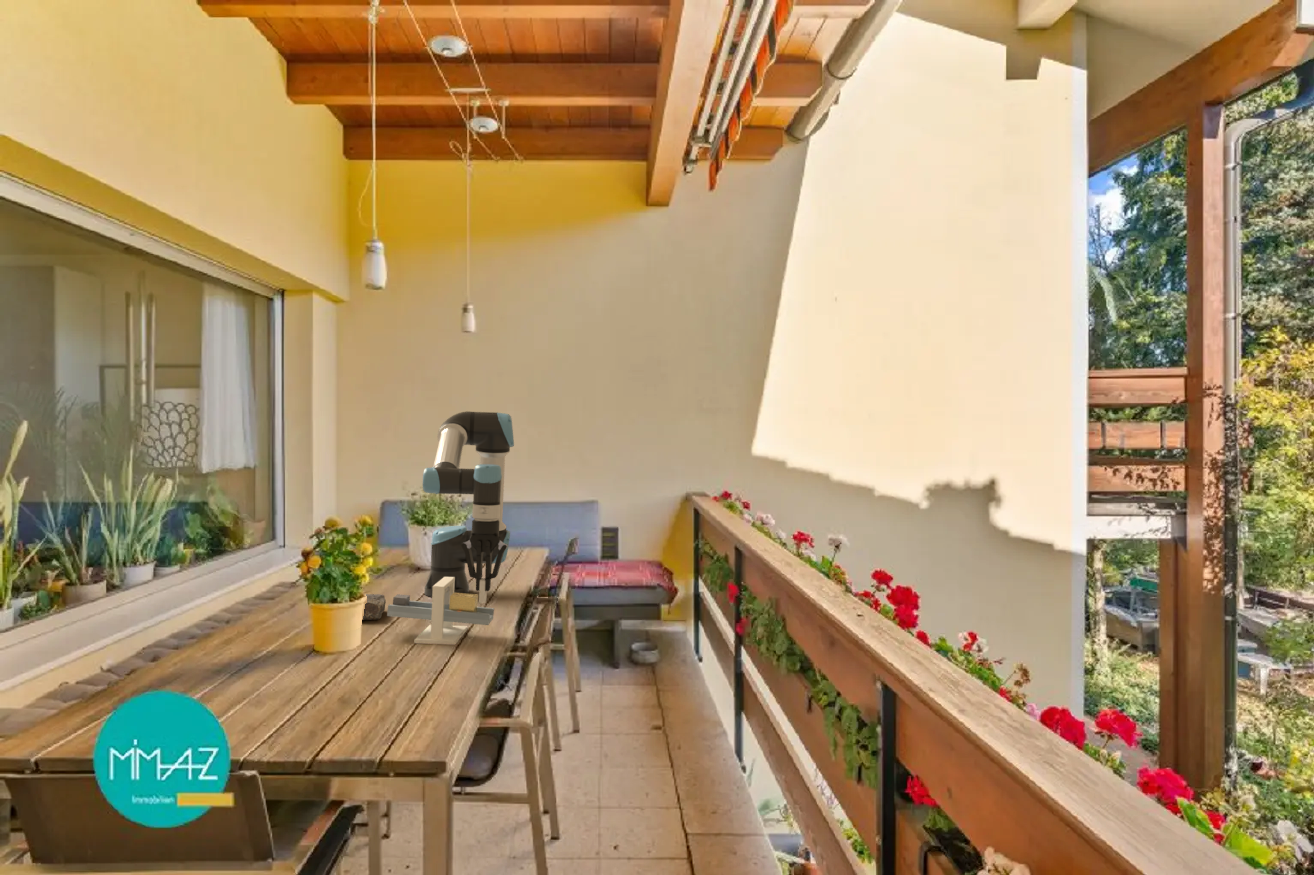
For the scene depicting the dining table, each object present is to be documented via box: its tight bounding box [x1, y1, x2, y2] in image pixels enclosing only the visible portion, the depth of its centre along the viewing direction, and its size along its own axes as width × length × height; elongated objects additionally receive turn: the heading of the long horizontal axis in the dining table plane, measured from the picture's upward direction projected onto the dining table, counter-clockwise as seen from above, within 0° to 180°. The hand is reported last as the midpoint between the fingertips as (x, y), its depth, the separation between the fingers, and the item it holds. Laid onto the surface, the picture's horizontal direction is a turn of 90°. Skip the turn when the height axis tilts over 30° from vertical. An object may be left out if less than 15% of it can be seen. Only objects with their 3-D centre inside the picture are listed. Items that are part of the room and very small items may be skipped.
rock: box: [363, 593, 386, 621], centre depth 210 cm, size 13×6×15 cm
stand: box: [414, 577, 468, 645], centre depth 194 cm, size 14×11×16 cm
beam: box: [386, 586, 495, 626], centre depth 194 cm, size 8×28×8 cm, turn 92°
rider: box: [449, 592, 479, 612], centre depth 194 cm, size 4×7×6 cm, turn 92°
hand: (482, 602), depth 194 cm, fingers closed
